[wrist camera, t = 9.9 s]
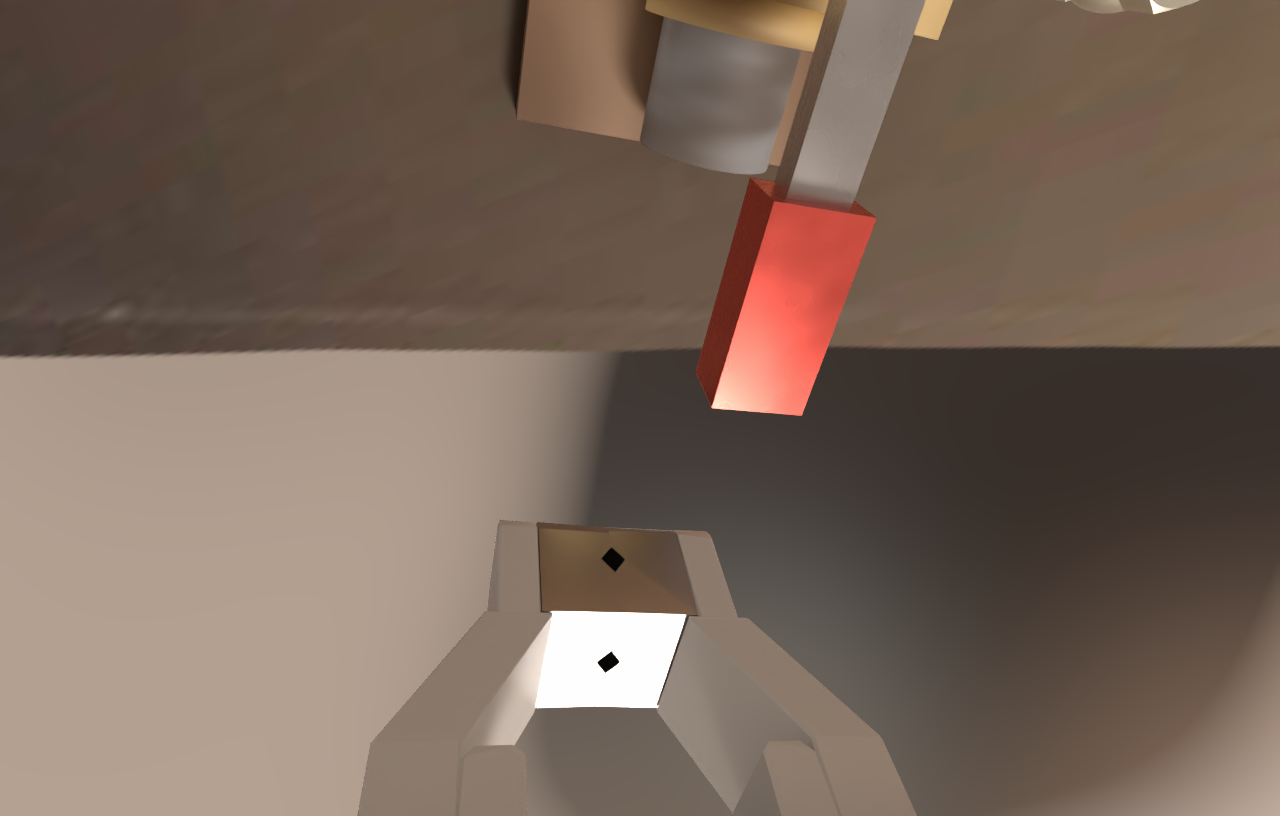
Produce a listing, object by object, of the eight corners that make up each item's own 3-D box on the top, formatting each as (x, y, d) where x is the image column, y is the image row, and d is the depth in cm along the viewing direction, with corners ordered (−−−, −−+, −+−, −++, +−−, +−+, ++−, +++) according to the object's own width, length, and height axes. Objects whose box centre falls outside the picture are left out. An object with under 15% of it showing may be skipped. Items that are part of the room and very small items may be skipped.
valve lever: (877, -314, 14) (927, -345, 13) (1015, -264, 15) (1079, -286, 13) (689, 371, 22) (705, 407, 21) (785, 380, 23) (807, 416, 21)
